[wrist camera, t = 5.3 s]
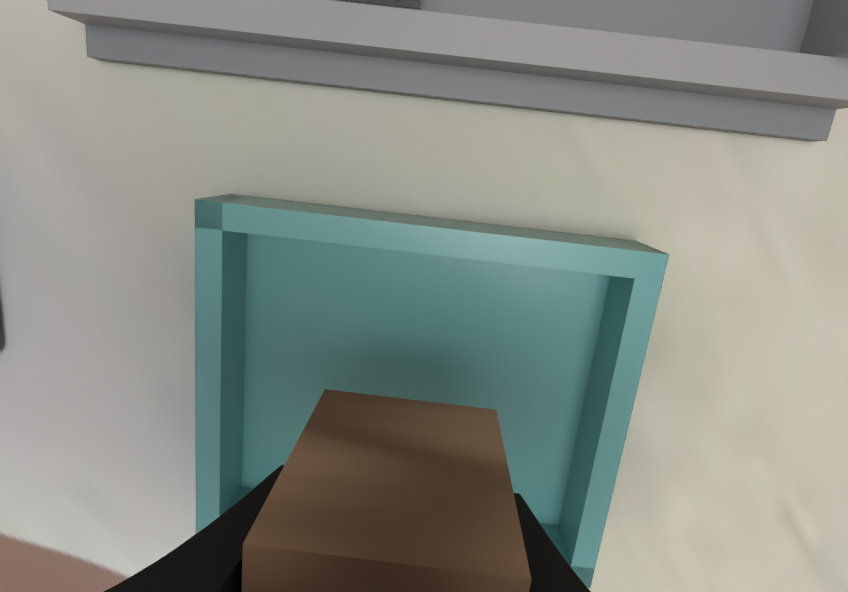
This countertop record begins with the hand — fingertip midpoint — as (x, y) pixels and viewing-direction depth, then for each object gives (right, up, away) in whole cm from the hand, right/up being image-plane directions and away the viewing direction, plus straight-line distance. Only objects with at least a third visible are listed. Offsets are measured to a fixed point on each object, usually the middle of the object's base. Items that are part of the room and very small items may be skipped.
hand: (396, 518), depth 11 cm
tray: (0, +2, +7) cm, 8 cm away
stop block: (0, +1, +1) cm, 1 cm away
